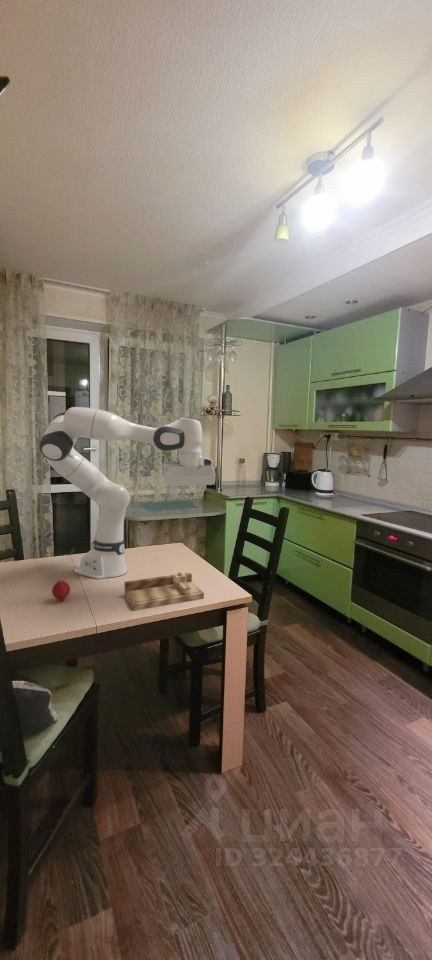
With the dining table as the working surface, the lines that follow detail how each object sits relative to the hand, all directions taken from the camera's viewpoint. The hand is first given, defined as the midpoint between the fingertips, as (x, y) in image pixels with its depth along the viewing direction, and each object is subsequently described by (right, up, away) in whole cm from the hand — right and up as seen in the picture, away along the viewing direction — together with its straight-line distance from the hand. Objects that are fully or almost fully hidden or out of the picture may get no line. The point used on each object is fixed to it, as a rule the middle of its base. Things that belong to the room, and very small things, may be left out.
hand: (189, 496), depth 145 cm
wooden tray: (-9, -37, -4) cm, 38 cm away
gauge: (-2, -35, -2) cm, 35 cm away
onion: (-45, -37, -10) cm, 59 cm away
